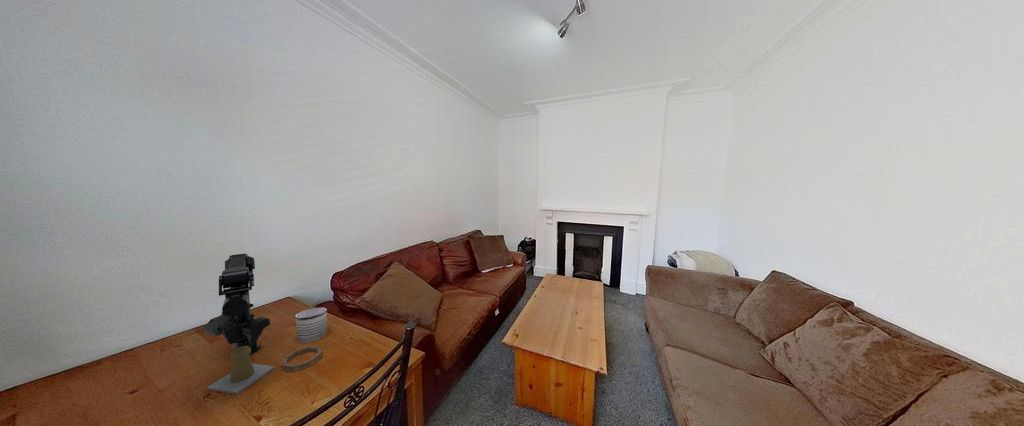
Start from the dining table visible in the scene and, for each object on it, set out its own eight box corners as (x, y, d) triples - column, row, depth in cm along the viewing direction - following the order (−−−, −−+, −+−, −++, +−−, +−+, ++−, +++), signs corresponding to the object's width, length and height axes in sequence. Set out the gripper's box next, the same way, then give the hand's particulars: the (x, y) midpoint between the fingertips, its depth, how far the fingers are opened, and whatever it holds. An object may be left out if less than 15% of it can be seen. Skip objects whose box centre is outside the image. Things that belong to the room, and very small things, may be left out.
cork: (238, 384, 87) (235, 355, 86) (225, 380, 89) (222, 352, 87) (258, 371, 93) (256, 344, 92) (246, 368, 95) (244, 342, 93)
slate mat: (207, 389, 86) (207, 386, 86) (248, 364, 98) (247, 362, 98) (236, 394, 84) (236, 391, 84) (274, 368, 96) (274, 366, 96)
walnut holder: (273, 368, 96) (273, 364, 96) (303, 348, 108) (303, 344, 108) (301, 373, 95) (301, 368, 94) (329, 351, 107) (329, 347, 107)
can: (291, 344, 111) (289, 318, 109) (305, 329, 122) (304, 306, 120) (320, 341, 113) (319, 316, 112) (331, 327, 124) (330, 304, 123)
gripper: (184, 312, 82) (189, 356, 83) (232, 319, 79) (236, 363, 81) (227, 297, 93) (230, 336, 94) (270, 302, 90) (272, 342, 92)
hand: (241, 344), depth 90 cm, fingers open, 9 cm apart
